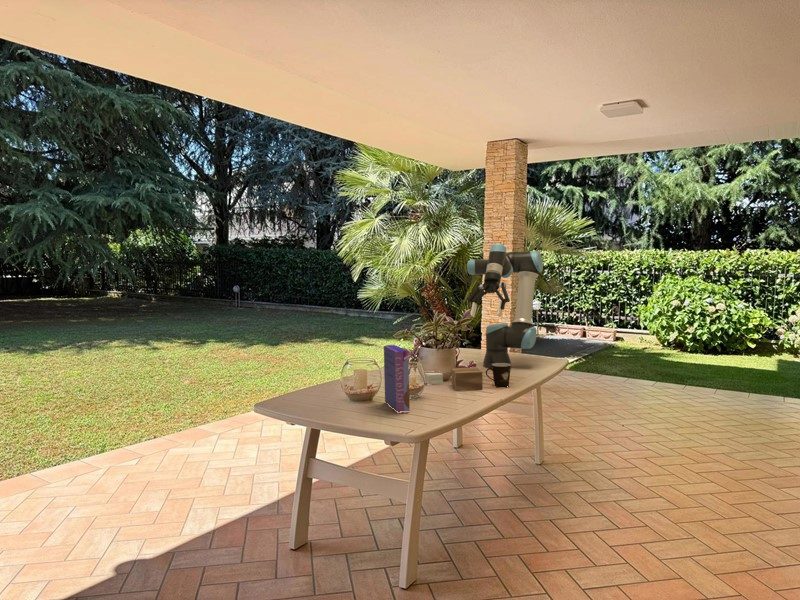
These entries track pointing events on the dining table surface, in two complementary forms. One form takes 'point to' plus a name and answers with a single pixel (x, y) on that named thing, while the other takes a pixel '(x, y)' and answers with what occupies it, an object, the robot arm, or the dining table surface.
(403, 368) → the cereal box
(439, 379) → the small box
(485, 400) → the dining table surface
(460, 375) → the walnut block
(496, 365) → the coffee mug
